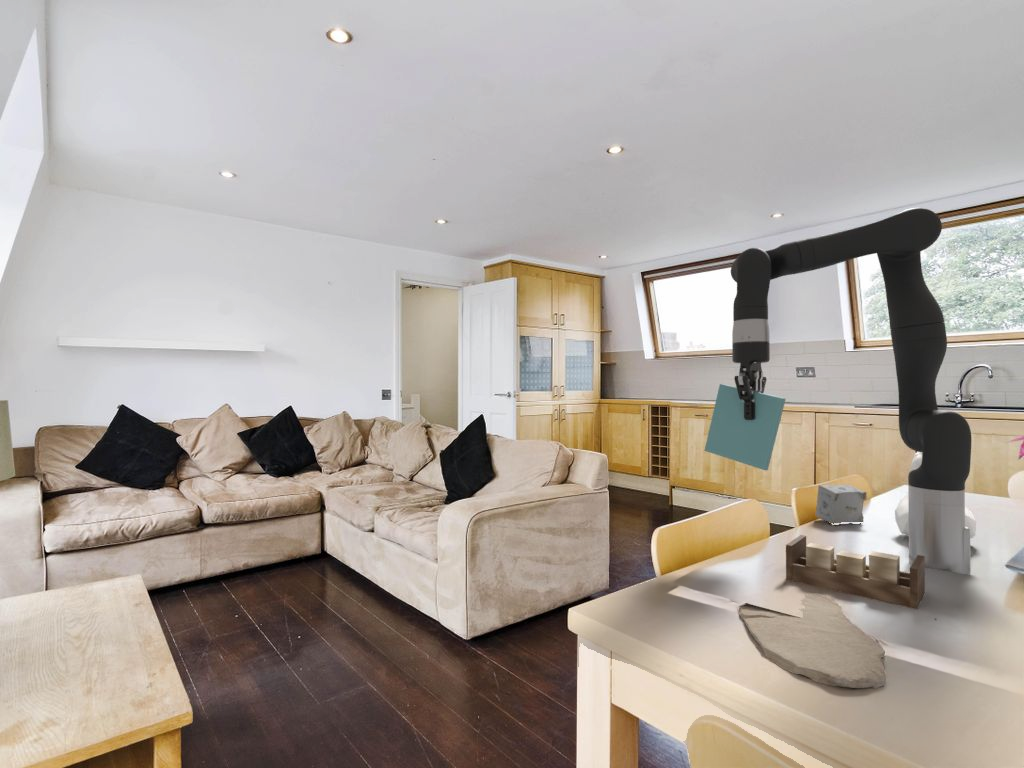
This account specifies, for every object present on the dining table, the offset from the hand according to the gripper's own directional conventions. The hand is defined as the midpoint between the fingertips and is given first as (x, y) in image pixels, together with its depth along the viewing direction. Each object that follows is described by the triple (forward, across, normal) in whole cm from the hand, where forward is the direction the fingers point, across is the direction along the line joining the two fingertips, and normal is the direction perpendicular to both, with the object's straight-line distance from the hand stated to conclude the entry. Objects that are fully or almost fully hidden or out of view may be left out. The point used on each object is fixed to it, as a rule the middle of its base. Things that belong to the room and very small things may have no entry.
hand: (751, 419), depth 118 cm
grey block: (+31, +51, -6) cm, 61 cm away
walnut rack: (+31, -8, -20) cm, 38 cm away
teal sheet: (+9, 0, +4) cm, 10 cm away
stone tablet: (+32, -32, -19) cm, 49 cm away
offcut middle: (+30, -9, -20) cm, 37 cm away
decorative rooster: (+31, +50, -27) cm, 65 cm away
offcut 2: (+30, -9, -26) cm, 40 cm away
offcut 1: (+30, -9, -16) cm, 35 cm away
